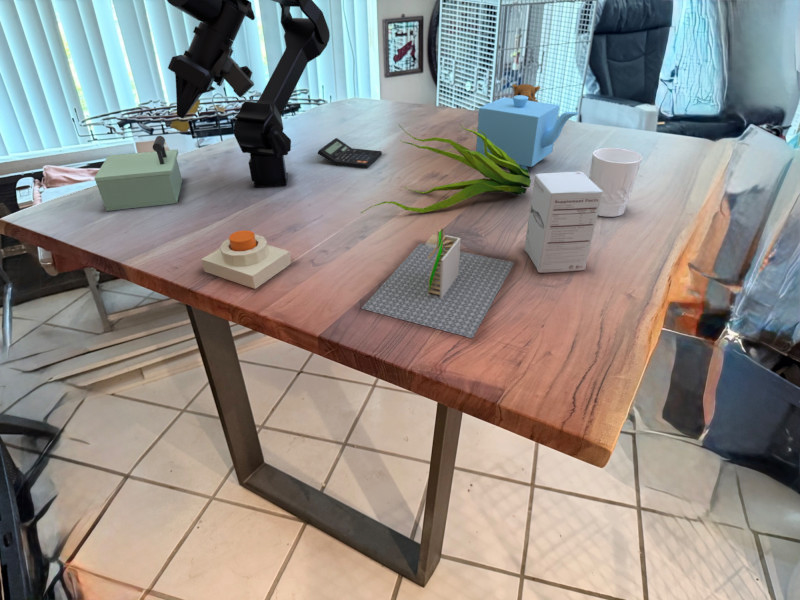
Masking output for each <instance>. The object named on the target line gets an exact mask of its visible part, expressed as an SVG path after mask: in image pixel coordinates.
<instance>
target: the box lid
mask: <svg viewBox="0 0 800 600" xmlns="http://www.w3.org/2000/svg"><path fill="white" fill-rule="evenodd" d="M154 139H155V140H154V142H153V144H152V150H153V151H146V152H145V151H144V152H135V153H134V152H133V153H124V154H111V155H107V157H106V158H105V160H104V162H103V163H102V165H101V166H100V168H99V169H98V171H97V172H96V174H95V176H94V177H93V178H94V182H96V181H106V180H116V179H126V178H136V177H146V176H156V175H166V174H172V173H173V170H174V166H175V163H176V159H177V160H178V156H179V150H178V149H167V150H166V148H165V142H166V138H165V137H164V136H162V135H158V136H156V137H155V138H154Z"/></svg>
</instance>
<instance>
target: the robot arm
mask: <svg viewBox="0 0 800 600" xmlns="http://www.w3.org/2000/svg"><path fill="white" fill-rule="evenodd" d="M166 1H167V3H168V4H170V5H171V6H172V7H174V8H176V9H177V10H180V11H181V12H183V13H184V14H186V15H188V16H190V17H191V18H194V19H195V20H197V21H199V23H198V26H195V27H194V29H193V31H192V33H194V36H193V37H192V39H191V43H190V45H189V47H188V49H187V50H186V49H185V50H184V53H183V54H178V55H174V56H172V57H171V59H170V61H169V64H168V66H167V69H168V70H169V71H171V72H173V73H174V75H175V96H176V97H175V98H176V116H177V117H179V118H181V119H185V117H187V114H188V113H189V112H190V111H191V110H192V109H193V107H194V105H195V104H196V103H197V102H198V101H199V99H200V98H201V96H202V95H203V94H206V93H210V92H213V91H215V90H216V88H215V87H214V86H213V84H214V82H215V83H216V85H217V86H218V87H222V85H223V83H224V81H225V82H226V83H227V84H228V85H229V86H230V87H231V88H232V90H233V92H234V93H235V94H236V95H237V96H238V98H242V97H243V96H244V95H245V94H246V93H247V92H248V91H249V90H250V89H251V88H253V87H254V86H255V83H254V81H253V80H252V75H253V71H252V69H250V68H249V67H248V66H247V65H243V66H240V65H239V64H238V63H237V61H235V60H234V59H233V58H232V55H233V53H234V49H233V45H234V42H235V40H236V38H237V35H238V34H239V31H240V29H241V27H242V24H243V22H244V20H245V18H247V19H249V20H251V21H254V20H255V19H256V16H255V12H254V10H253V7H252V2H251V1H249V0H166ZM271 1H272V2H276V3H278V4H279V6H280V8H281V12H280V24H281V26H282V29H283V31H284V34H283V39H284V43H285V44H284V45H285V48H284V51H283V53H282V55H281V57H280V59H279V61H278V63H277V65H276V67H275V69H274V70H273V72H272V74H271V76H270V78H269V79H268V81H267V83H266V85H265V87H264V89H263V91H262V93H261V95H260V97H259V98H258V100H257V101H244V102H243V103H242V104H241V107H240V110H239V111H238V113H237V114H236V115H234V118H235V122H234V124H233V135H234V138H235V140H236V142H237V144H238V146H239V149H240V150H241V153H242V154H249V157H250V158H249V160H248V168H249V173H250V178H251V182H252V183H253V188H267V187H268V188H270V187H286V186H287V185H288V177H289V173H288V172H287V168H286V161H285V156H288V155H289V152H290V151H291V150H292V140H291V138H290V137H289V136H288V135H287V134H286V133H285V132H284V124H283V123H284V122H283V118H282V116H283V113H284V110H285V109H286V107H287V105H288V103H289V101H290V99H291V97H292V95H293V93H294V92H295V89H296V87H297V85H298V83H299V81H300V79H301V77H302V75H303V73H304V71H305V69H306V67H307V65H308V64H309V62H312V61H313V60H315V59H316V58H318V57H320V56H321V55H322V54H323V52H324V50H325V49H326V48H327V46H328V43H329V42H330V37H331V36H330V35H331V33H330V29H329V26H328V23H327V20H326V18H325V15H324V12H323V11H322V9H321V8H320V7H319V6H318V5H317V3H315V2H314V1H313V0H271ZM292 7H294V8H295V7H297V8H299V9H300V11H301V13H303V14H304V15H305V16H306V17H293V16H292V13H291V8H292Z"/></svg>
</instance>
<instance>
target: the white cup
mask: <svg viewBox="0 0 800 600" xmlns="http://www.w3.org/2000/svg"><path fill="white" fill-rule="evenodd" d="M642 160H643V155H641V154H640V153H638V152H637V151H634V150H631V149H626V148H620V147H603V148H598V149H595V150H594V151H593V152H592V157H591V164H590V170H589V176H588V178H589V179H590V180H591V181H593V183H594V184H596V185H597V186H598V187H599V188H600V189H601V190H602V191H603V193H602V198H601V202H600V207H599V211H598V215H597V216H599V217H604V218H605V217H606V218H614V217H619V216H622V215H624V213H625V212H626V210H627V206H628V203H629V200H630V198H631V194H632V193H633V192H632V191H633V189H634V186H635V183H636V180H637V177H638V174H639V170H640V166H641V164H642Z"/></svg>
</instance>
